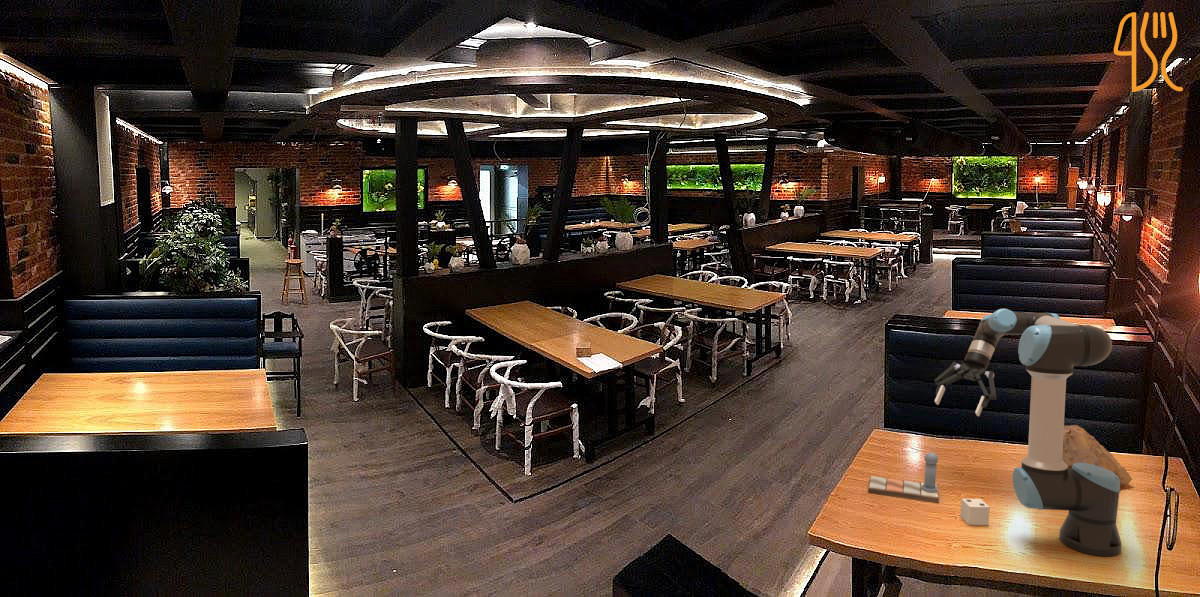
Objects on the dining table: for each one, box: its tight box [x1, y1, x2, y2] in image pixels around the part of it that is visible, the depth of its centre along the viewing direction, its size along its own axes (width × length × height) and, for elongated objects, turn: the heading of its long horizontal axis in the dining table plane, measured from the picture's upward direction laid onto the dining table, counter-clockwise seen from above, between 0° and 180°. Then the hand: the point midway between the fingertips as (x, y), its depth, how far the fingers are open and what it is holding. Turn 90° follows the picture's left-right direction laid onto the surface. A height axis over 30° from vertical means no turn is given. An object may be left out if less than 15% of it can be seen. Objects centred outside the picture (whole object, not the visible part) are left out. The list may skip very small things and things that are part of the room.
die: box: [959, 498, 991, 526], centre depth 229 cm, size 6×6×6 cm
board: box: [868, 475, 940, 504], centre depth 252 cm, size 12×22×2 cm, turn 67°
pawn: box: [922, 452, 939, 493], centre depth 247 cm, size 5×5×13 cm
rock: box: [1062, 424, 1133, 486], centre depth 263 cm, size 29×18×15 cm, turn 8°
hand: (956, 408), depth 249 cm, fingers open, 13 cm apart
